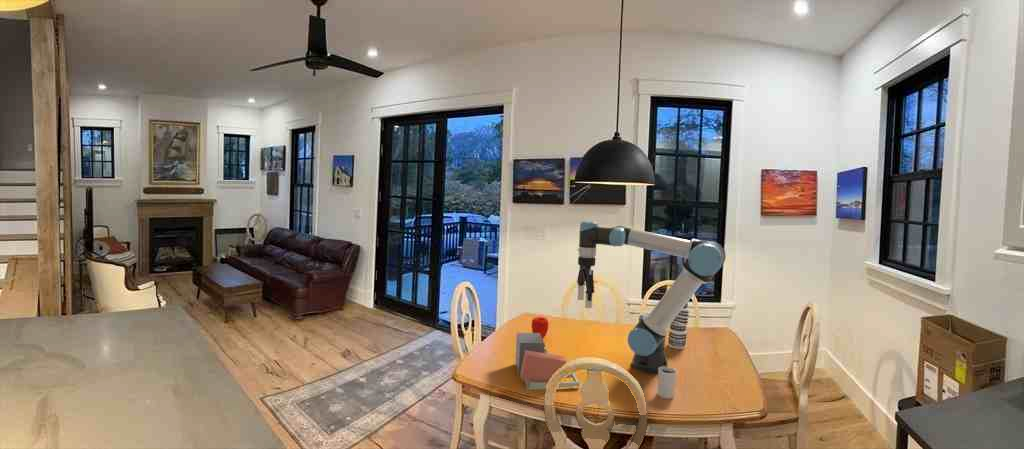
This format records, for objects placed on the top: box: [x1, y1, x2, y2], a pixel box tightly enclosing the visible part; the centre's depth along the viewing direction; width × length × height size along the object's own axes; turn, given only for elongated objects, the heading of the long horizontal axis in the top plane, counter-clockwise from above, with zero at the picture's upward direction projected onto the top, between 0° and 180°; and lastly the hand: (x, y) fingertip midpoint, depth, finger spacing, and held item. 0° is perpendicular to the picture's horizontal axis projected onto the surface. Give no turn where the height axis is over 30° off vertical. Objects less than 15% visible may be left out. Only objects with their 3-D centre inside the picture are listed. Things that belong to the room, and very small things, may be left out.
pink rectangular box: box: [519, 350, 567, 382], centre depth 182 cm, size 16×5×10 cm, turn 96°
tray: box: [524, 372, 580, 390], centre depth 182 cm, size 20×9×3 cm, turn 96°
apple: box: [531, 316, 550, 339], centre depth 236 cm, size 9×9×11 cm
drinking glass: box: [657, 366, 677, 400], centre depth 177 cm, size 7×7×10 cm
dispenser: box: [515, 332, 546, 377], centre depth 195 cm, size 11×12×14 cm
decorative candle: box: [667, 300, 690, 350], centre depth 233 cm, size 9×9×25 cm
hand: (584, 303), depth 205 cm, fingers open, 13 cm apart
